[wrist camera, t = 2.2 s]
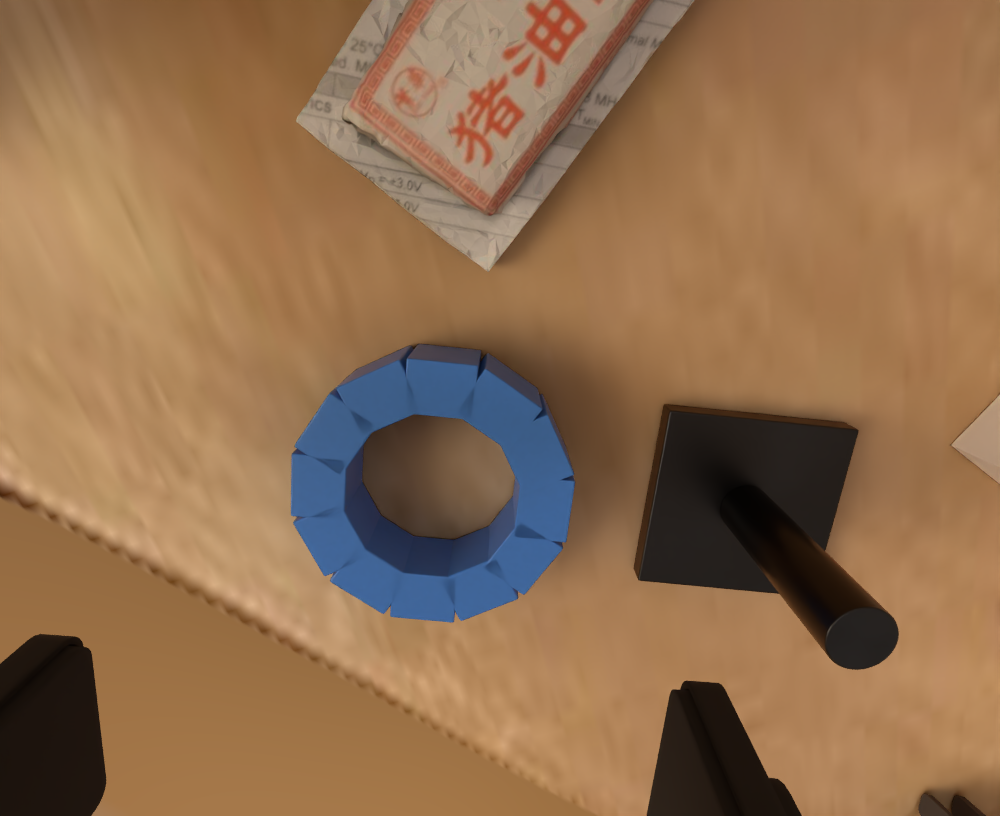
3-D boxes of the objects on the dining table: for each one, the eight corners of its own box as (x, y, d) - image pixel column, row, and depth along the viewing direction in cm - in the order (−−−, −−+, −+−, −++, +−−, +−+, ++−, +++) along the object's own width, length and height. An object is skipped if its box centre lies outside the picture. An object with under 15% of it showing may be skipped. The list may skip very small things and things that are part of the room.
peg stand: (633, 568, 32) (700, 738, 21) (663, 403, 29) (757, 500, 19) (801, 584, 32) (954, 760, 21) (845, 422, 30) (1042, 528, 19)
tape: (312, 567, 32) (289, 608, 28) (317, 333, 28) (292, 346, 25) (547, 589, 32) (553, 632, 29) (580, 360, 29) (590, 377, 25)
